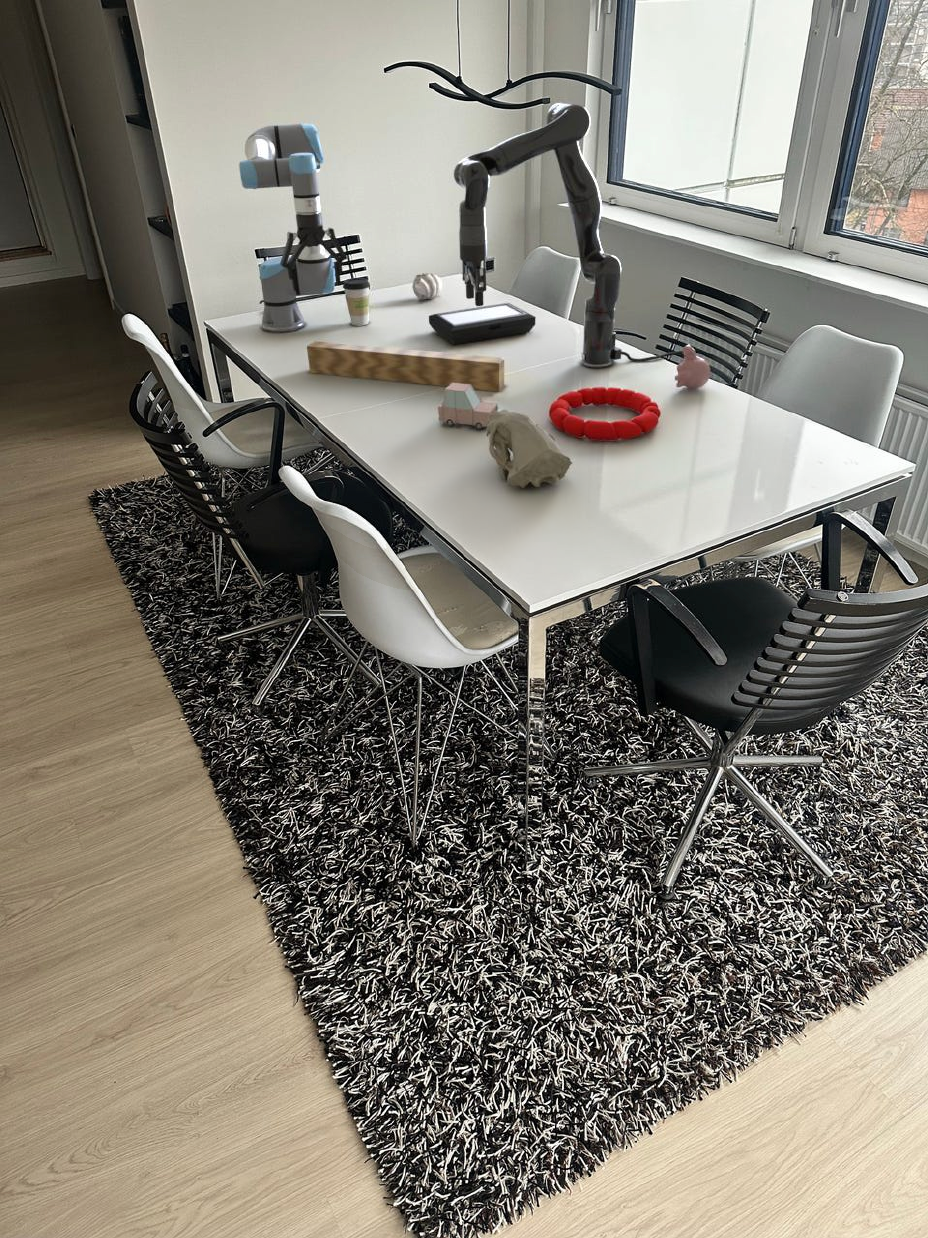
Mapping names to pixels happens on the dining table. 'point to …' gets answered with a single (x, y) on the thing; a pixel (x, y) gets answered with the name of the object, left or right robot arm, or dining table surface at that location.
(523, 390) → the dining table surface
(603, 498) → the dining table surface
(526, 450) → the grey brown rock
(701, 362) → the figurine
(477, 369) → the beam
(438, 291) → the seashell
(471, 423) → the toy car
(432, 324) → the electronic device
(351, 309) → the coffee cup
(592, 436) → the decorative ring
